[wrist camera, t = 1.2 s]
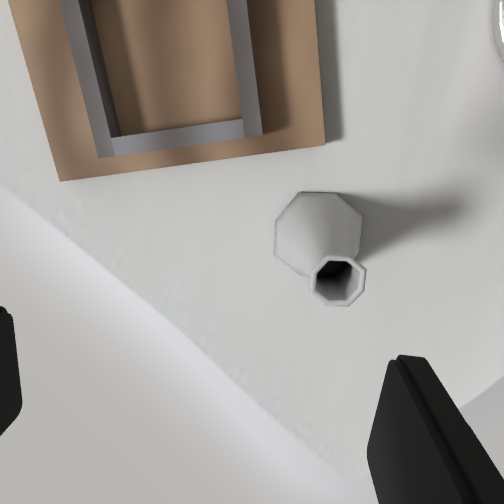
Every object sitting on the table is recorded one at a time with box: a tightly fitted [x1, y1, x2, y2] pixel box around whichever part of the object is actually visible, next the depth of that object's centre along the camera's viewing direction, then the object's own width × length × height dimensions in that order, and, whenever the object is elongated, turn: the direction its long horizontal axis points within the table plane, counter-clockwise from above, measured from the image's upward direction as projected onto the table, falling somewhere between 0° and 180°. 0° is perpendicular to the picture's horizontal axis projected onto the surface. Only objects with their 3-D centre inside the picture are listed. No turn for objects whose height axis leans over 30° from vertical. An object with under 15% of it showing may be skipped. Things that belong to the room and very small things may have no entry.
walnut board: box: [8, 0, 325, 182], centre depth 26 cm, size 20×14×4 cm
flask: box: [274, 193, 366, 306], centre depth 26 cm, size 7×7×10 cm
